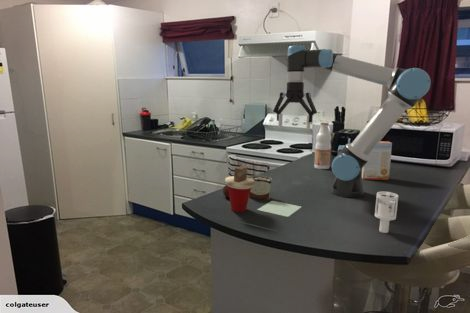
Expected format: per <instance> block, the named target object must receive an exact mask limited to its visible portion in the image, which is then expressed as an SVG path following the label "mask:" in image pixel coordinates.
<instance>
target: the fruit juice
mask: <svg viewBox="0 0 470 313" xmlns="http://www.w3.org/2000/svg"><path fill="white" fill-rule="evenodd" d="M329 126H330V124H329V122H320V128H319V131H318V133H316V137H315V140H316V143H315V147H314V149H315V150H314V166H313V168H315V169H318V170H328V169H330V166H331V151H332V144H331V141H332V134H331V133H330V130H329Z"/></svg>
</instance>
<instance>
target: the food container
mask: <svg viewBox="0 0 470 313" xmlns="http://www.w3.org/2000/svg"><path fill="white" fill-rule="evenodd" d="M247 177H248V178H251V179H253V180H254V181H255V185H254V186H253V187H252V188H251V190H250V193H249V198H251V199H260V200H267V201H269V200H270V199H271V198H270V197H271V191H272V185H274V181H273V178H272V177H270V176H267V175H259V174H257V175H255V174H254V175H249V176H247ZM249 198H248V199H249Z"/></svg>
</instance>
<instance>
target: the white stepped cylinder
mask: <svg viewBox="0 0 470 313" xmlns="http://www.w3.org/2000/svg"><path fill="white" fill-rule="evenodd" d="M398 202H399V194H397V193H395V192H392V191H377V192H376V199H375V209H374V217H375V218H377V219H379V229H378V230H379V231H378V232H380V233H384V234H388V233H389V230H390V221H395V220H396V219H397V212H398Z"/></svg>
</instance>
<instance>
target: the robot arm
mask: <svg viewBox="0 0 470 313" xmlns="http://www.w3.org/2000/svg"><path fill="white" fill-rule="evenodd" d="M286 58H287V59H286V61H287V62H286V64H287V66H286V67H287V68H286V69H287V70H286V81H287V83H286V92H284V91H283V92H282V91H281V92H279V97H278V99H277V101H276V104H275V106H274V108H273V110H272V111H273V113H275V114H276V121H277V122H278V129H282V128H283V113H282V112H283V111H284V110H285V109H286V107H287V106H288V105H289V104H290V103H296V104H297V103H299V104H300V105H301V106H302V107H303V109H304V110H305V111H306V113H307V115H306V131H309V130H311V123H312V122H313V116H314V115H315V114H317V113H318V111H317V109H316V106H315V104H314V101H313V100H312V97H311V96H312V95H311V92H306V93H305V92H304V88H305V86H304V85H305V83H304V82H303V81H305V68H306V69H307V68H309V69H311V68H312V69H313V68H315V69H316V68H318V69H322V70H326V71H329V72H335V73H337V74H341V75H344V76H349V77H352V78H357V79H360V80H363V81H367V82H371V83H374V84H376V85H377V84H378V85H382V86H385V87H387V89H388V91H387V98H386V99H385V101H384V102H382V105H380V107H379V108H378V109H377V110H376V112H374V115H372V116H371V118H370V120H369V121H368V122H367V123H366V124H365V126H364V127H363V128H362V129H361V131H360V132H359V133H358V135H356V137H355V139H354V140H352V142H351V143H346V144H345V145H344V144H343V145H341V144H340V145H338V149H337V155H336V156H335V157H334V158H333V160H332V162H331V171H332V173H333V175H334V176H335V178H334V181H333V183H332V185H331V190H330V191H331V193H333V195H336V196H341V197H343V198H344V197H345V198H359V197H363V196H364V195H365V188H364V183H363V179H362V168H363V167H364V165H365V164H366V163H367V162H368V161H369V158H368V155H369V154H370V152H371V151H372V150H373V149H374V148H375V146H376V145H377V144H378V143H379V142H380V141H382V139H383V138H384V137H385V136H386V134H387V133H388V132H389V131H390V130H391V129H392V127H393V126H394V125H395V124H396V122H397V121H398V120H400V117H401V116H402V115H403V114H404V113H405V111H406V110H408V109H413V108H414V107H415V106H416V105H417V103H418V102H419V101H420V99H422V98H423V97H424V96H425V95H426V94H427V93H428V92H429V90H430V88H431V84H432V83H431V82H432V81H431V77H430V75H429V74H428V72H426V70H423V69H422V68H420V67H419V68H418V67H412V68H411V67H410V68H407V69H406V68H402V67H401V68H400V67H394V68H391V67H386V66H383V65H378V64H374V63H371V62H368V61H367V62H366V61H363V60H359V59H355V58H350V57H348V56H344V55H338V54H335V53H333V50H332V49H327V48H323V49H322V48H321V49H306V46H305V45H299V44H298V45H297V44H295V45H290V46H288V48H287V57H286ZM304 97H305V98H306V101H307V103H308V104H307V103H306V101H305V100H304ZM284 98H286V100H285V101H284ZM283 101H284V102H283ZM282 102H283V104H282Z"/></svg>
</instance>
